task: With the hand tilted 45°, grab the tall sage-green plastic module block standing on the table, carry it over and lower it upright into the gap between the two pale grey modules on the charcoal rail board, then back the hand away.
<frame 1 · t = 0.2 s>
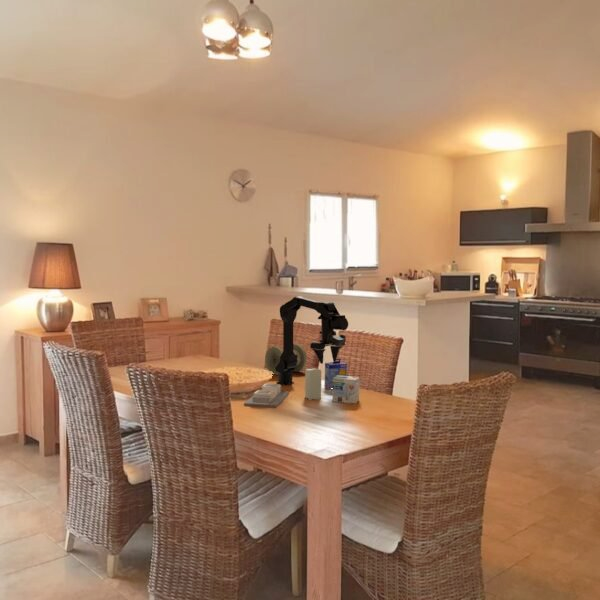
hand: (328, 362, 295), 14 cm above the table, tool pointing down, fingers open, 9 cm apart
rail board: (267, 399, 281), on the table
light bulb box: (345, 401, 280), on the table
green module: (312, 398, 285), on the table
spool: (285, 373, 342), on the table
ink cartridge box: (335, 388, 307), on the table
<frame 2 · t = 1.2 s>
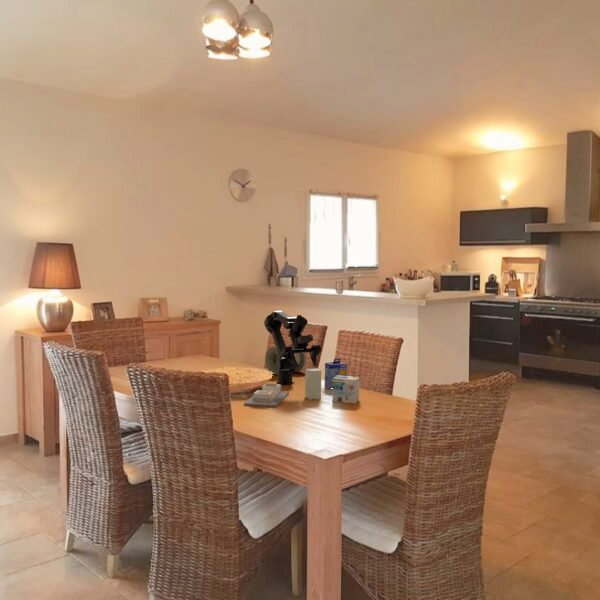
hand: (306, 365, 291), 13 cm above the table, tool tilted 45°, fingers open, 9 cm apart
nothing on the table moved.
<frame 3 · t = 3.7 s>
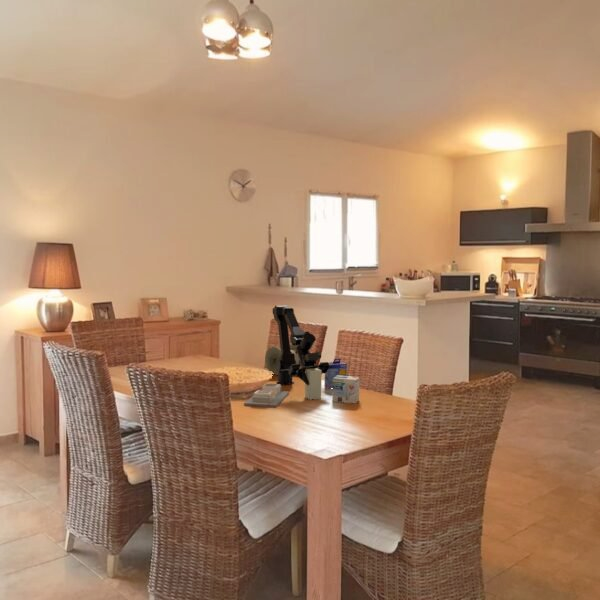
hand: (314, 384, 283), 7 cm above the table, tool tilted 45°, fingers closed on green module, 6 cm apart
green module: (312, 398, 285), on the table, touching gripper
everything else where it was.
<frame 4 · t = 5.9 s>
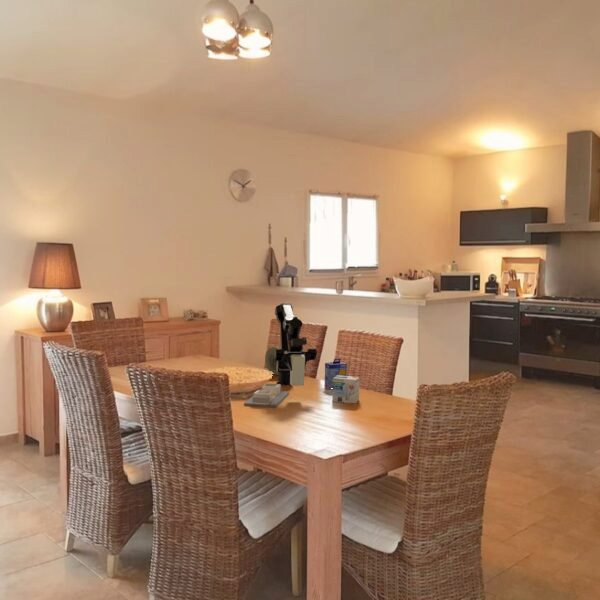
hand: (297, 370, 279), 14 cm above the table, tool tilted 45°, fingers closed on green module, 5 cm apart
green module: (296, 384, 281), point 7 cm above the table, touching gripper
everything else where it was.
when the fingers open (9 cm above the table, at t = 8.2 s): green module drops 1 cm, resting on rail board.
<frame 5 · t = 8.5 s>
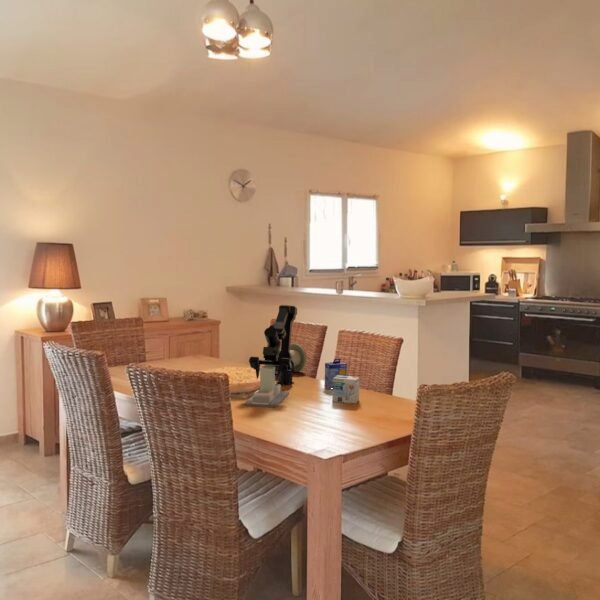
hand: (266, 378, 279), 10 cm above the table, tool tilted 45°, fingers open, 9 cm apart
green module: (267, 396, 281), point 1 cm above the table, touching rail board
everything else where it was.
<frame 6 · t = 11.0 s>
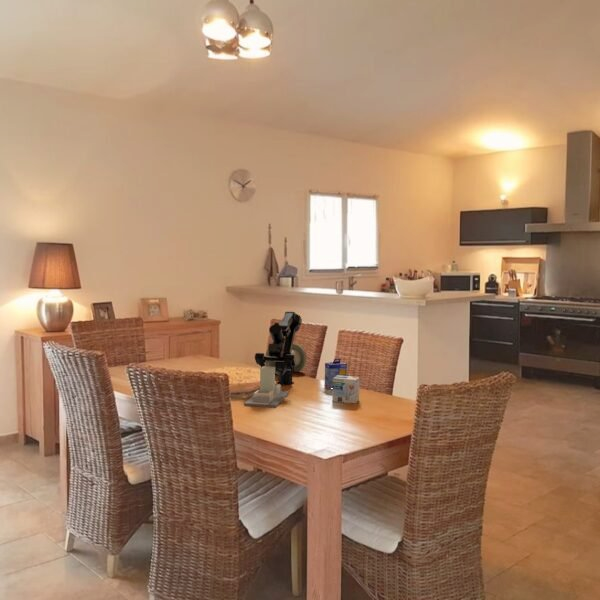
hand: (272, 374, 288), 10 cm above the table, tool tilted 45°, fingers open, 9 cm apart
nothing on the table moved.
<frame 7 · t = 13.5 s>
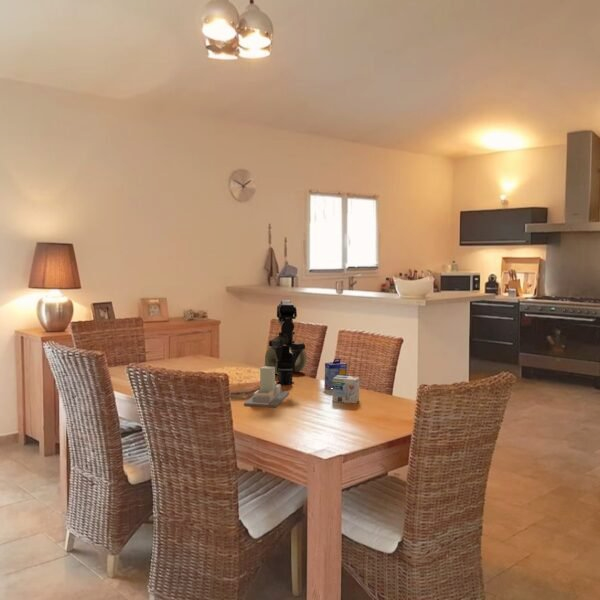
hand: (286, 362, 300), 13 cm above the table, tool pointing down, fingers open, 9 cm apart
nothing on the table moved.
at the end: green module 0.0 cm off-centre on the rail board, point 1.4 cm above the rail board's base; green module tilted 0°; the gripper is holding nothing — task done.
